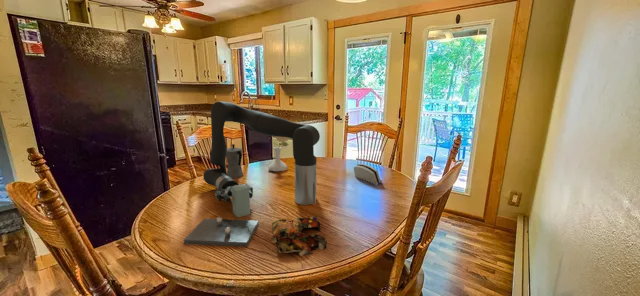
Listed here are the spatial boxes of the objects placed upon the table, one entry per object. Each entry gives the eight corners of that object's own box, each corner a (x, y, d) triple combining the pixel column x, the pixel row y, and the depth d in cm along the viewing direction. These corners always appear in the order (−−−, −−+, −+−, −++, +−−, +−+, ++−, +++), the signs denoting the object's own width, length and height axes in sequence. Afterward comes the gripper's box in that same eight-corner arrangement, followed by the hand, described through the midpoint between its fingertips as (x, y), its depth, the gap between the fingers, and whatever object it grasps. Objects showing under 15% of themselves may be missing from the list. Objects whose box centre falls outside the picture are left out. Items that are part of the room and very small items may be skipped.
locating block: (245, 209, 108) (243, 184, 106) (250, 214, 104) (249, 187, 102) (233, 212, 105) (231, 186, 103) (237, 217, 101) (236, 190, 99)
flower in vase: (265, 172, 156) (264, 130, 150) (272, 166, 167) (271, 127, 161) (287, 173, 154) (286, 131, 148) (292, 168, 164) (292, 128, 159)
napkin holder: (383, 183, 141) (379, 167, 137) (377, 187, 139) (373, 171, 135) (361, 174, 154) (357, 160, 150) (355, 178, 152) (351, 163, 148)
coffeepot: (221, 174, 150) (219, 143, 147) (237, 171, 157) (235, 141, 153) (234, 181, 140) (232, 148, 136) (250, 177, 146) (249, 145, 142)
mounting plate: (258, 224, 96) (258, 214, 96) (246, 246, 83) (246, 235, 82) (204, 222, 97) (203, 212, 96) (184, 244, 84) (182, 232, 83)
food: (332, 254, 81) (332, 244, 80) (270, 262, 77) (269, 251, 76) (318, 220, 102) (318, 211, 101) (268, 225, 98) (268, 216, 97)
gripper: (209, 180, 111) (221, 193, 98) (242, 174, 119) (257, 185, 107) (210, 197, 112) (223, 211, 100) (243, 190, 121) (258, 202, 108)
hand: (240, 197), depth 103 cm, fingers open, 8 cm apart
